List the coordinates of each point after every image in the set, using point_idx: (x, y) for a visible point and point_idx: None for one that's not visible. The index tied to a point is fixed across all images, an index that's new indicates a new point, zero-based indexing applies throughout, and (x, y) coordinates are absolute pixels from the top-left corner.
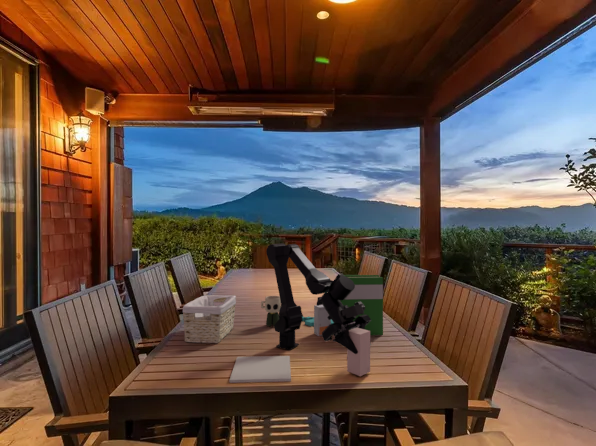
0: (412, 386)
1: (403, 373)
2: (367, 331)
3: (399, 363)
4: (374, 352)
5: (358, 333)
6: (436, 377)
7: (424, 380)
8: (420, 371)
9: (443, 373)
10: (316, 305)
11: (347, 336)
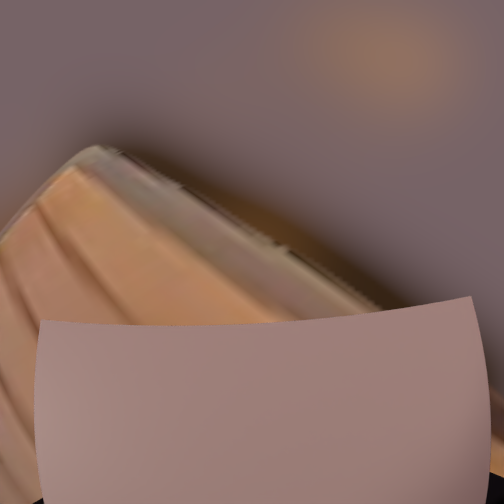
0: (187, 195)
1: (98, 278)
2: (104, 357)
3: (27, 342)
4: (11, 475)
5: (465, 384)
6: (76, 192)
7: (115, 199)
8: (54, 246)
9: (44, 198)
10: None
11: (493, 497)
